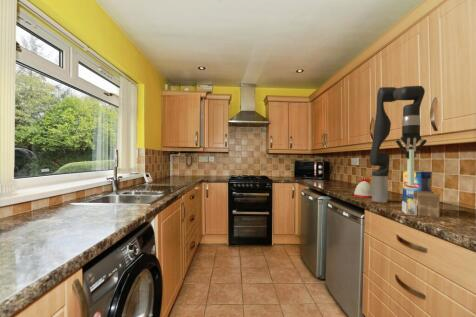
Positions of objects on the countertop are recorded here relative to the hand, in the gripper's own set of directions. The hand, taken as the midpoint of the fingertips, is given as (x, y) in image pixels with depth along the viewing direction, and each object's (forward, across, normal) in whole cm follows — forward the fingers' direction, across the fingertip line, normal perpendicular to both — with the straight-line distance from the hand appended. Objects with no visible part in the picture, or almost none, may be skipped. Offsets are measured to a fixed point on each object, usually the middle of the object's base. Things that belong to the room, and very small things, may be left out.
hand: (410, 158), depth 122 cm
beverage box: (+29, -6, -11) cm, 32 cm away
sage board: (+14, 0, +1) cm, 14 cm away
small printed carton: (+29, 0, 0) cm, 29 cm away
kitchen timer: (+29, +17, -57) cm, 66 cm away
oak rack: (+29, -7, 0) cm, 29 cm away
